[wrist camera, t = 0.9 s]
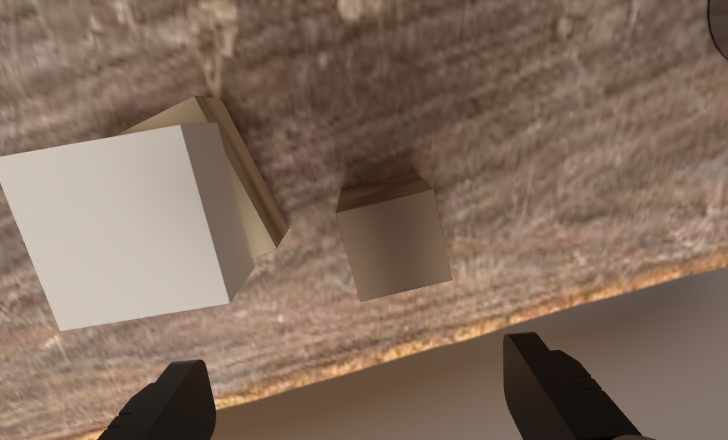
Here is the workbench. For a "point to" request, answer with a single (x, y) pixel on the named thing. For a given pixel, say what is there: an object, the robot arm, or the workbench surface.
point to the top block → (130, 224)
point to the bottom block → (231, 169)
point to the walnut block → (393, 236)
